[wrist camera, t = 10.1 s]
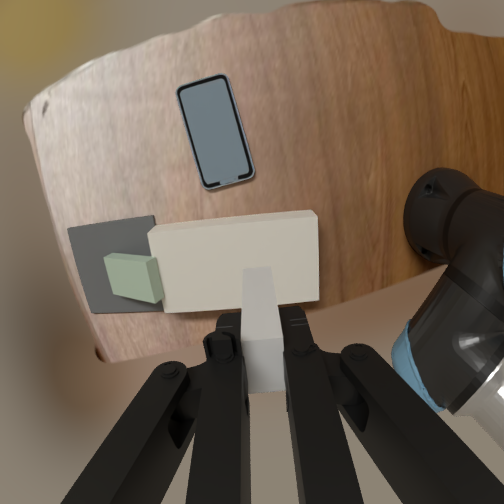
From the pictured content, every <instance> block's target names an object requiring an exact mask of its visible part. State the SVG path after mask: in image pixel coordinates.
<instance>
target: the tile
mask: <svg viewBox="0 0 504 504" xmlns="http://www.w3.org/2000/svg"><path fill="white" fill-rule="evenodd" d="M103 258H104V262H105V266H106V270H107V273H108V277H109V281H110V284H111V288H112V291H113V294H115V295H119V296H124V297H128V298H132V299H137V300H141V301H146V302H150V303H155V304H156V303H157V302H158V301H160V300H161V299H162V298H164V293H163V289H162V285H161V280H160V276H159V271H158V267H157V262H156V257H152V256H142V255H131V254H121V253H111V254H109V255H107V256H105V257H103Z"/></svg>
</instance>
